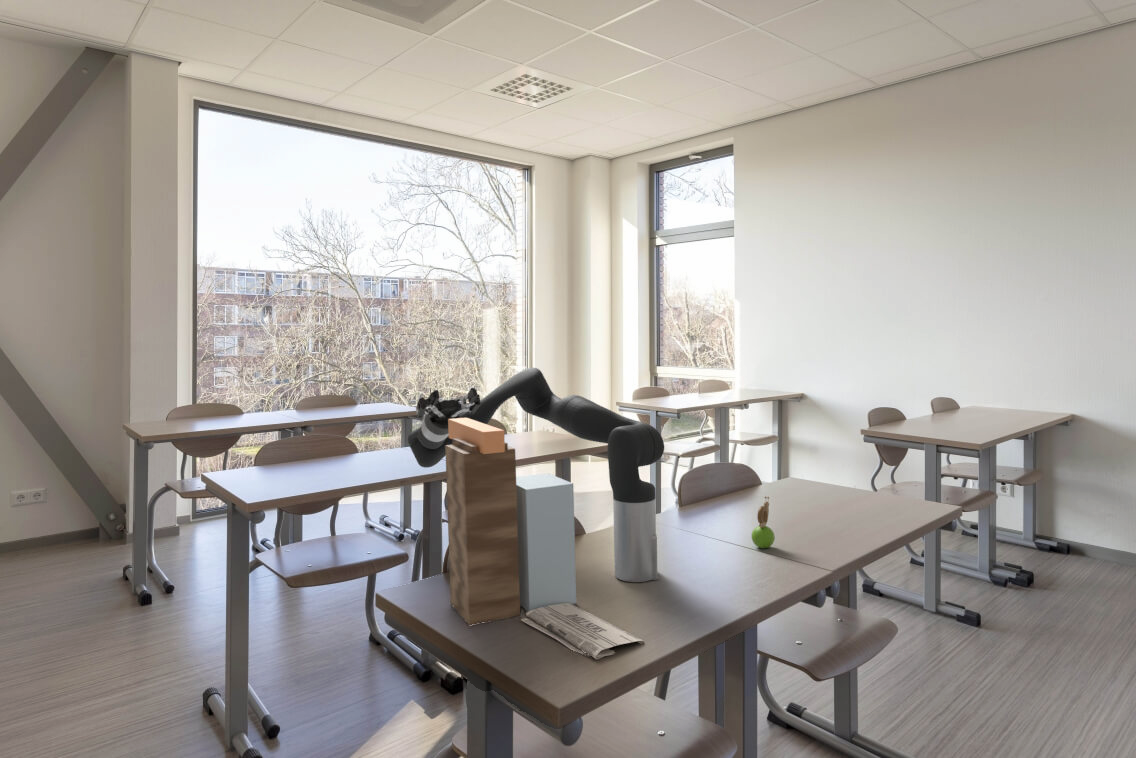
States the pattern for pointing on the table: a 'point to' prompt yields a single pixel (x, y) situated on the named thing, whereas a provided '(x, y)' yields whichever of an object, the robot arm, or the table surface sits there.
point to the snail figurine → (763, 528)
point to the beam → (477, 435)
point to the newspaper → (579, 629)
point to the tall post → (482, 532)
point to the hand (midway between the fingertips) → (455, 392)
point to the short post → (545, 541)
